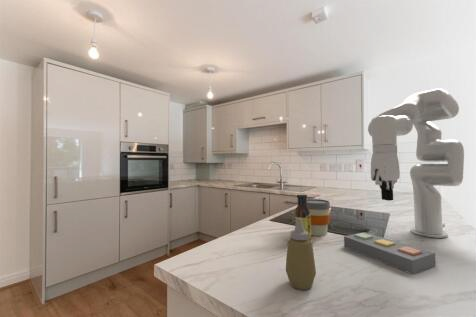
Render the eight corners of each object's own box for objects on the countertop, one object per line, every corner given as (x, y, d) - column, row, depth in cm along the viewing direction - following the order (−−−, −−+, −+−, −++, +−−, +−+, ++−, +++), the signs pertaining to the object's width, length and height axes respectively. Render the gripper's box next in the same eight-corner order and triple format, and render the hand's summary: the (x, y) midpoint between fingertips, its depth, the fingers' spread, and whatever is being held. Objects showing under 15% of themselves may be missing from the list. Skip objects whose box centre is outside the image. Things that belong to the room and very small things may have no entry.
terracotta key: (406, 252, 74) (406, 246, 74) (421, 257, 70) (421, 250, 70) (398, 255, 72) (398, 248, 72) (413, 260, 68) (413, 253, 68)
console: (365, 241, 91) (364, 232, 91) (435, 265, 69) (435, 253, 69) (344, 246, 86) (343, 236, 87) (413, 274, 64) (412, 260, 65)
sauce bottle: (312, 244, 90) (310, 195, 90) (296, 243, 91) (295, 195, 91) (310, 239, 96) (308, 193, 96) (295, 238, 97) (294, 193, 98)
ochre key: (382, 245, 81) (382, 238, 81) (395, 249, 77) (394, 242, 77) (374, 247, 79) (374, 240, 79) (387, 251, 75) (386, 244, 75)
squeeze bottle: (282, 277, 64) (280, 215, 64) (309, 276, 65) (307, 214, 65) (291, 294, 56) (289, 223, 56) (321, 291, 57) (319, 221, 57)
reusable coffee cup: (333, 231, 106) (332, 200, 106) (328, 239, 95) (327, 204, 96) (306, 227, 113) (306, 198, 113) (299, 234, 102) (298, 202, 103)
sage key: (362, 238, 88) (362, 232, 88) (373, 241, 84) (372, 236, 84) (354, 240, 86) (354, 234, 86) (365, 243, 82) (365, 237, 82)
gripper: (387, 149, 87) (389, 196, 87) (361, 151, 81) (364, 200, 81) (408, 148, 80) (411, 198, 80) (381, 150, 74) (384, 204, 74)
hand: (387, 199), depth 80 cm, fingers closed
